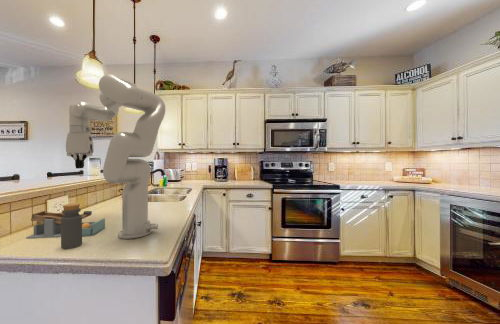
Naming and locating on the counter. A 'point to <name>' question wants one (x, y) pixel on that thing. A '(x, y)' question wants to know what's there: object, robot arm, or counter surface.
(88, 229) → the tray
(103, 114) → the robot arm
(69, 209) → the bottle
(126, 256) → the counter surface
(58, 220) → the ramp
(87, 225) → the ball
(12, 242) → the counter surface
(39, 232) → the stand
